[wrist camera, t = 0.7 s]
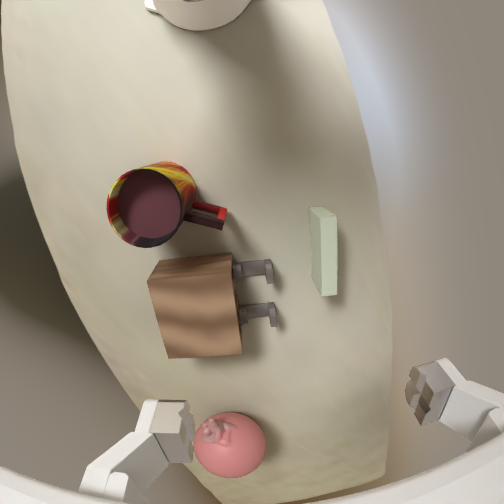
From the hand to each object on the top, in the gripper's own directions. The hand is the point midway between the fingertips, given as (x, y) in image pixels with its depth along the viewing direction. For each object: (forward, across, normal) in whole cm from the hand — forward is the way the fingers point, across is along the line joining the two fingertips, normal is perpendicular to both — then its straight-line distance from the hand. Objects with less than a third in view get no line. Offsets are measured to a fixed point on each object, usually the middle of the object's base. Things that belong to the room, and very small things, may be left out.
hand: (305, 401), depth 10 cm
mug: (+40, +11, -3) cm, 41 cm away
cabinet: (+40, +7, +15) cm, 43 cm away
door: (+40, -10, +8) cm, 42 cm away
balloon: (+40, +10, +46) cm, 62 cm away
